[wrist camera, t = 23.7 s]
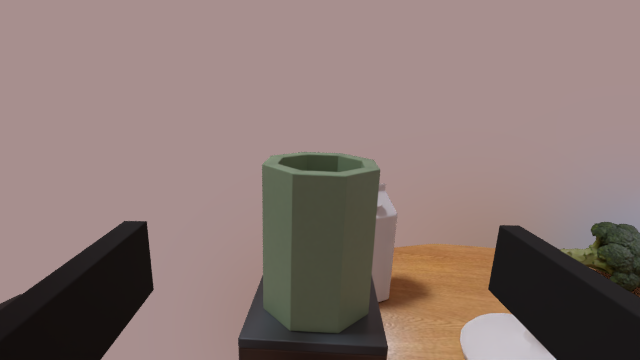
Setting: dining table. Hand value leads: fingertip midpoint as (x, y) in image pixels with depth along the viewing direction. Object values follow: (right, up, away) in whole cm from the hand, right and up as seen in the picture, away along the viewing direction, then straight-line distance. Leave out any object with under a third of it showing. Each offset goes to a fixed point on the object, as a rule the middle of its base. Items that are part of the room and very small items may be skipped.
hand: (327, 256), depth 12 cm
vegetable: (+54, -16, +51) cm, 76 cm away
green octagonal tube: (-1, -5, +9) cm, 10 cm away
